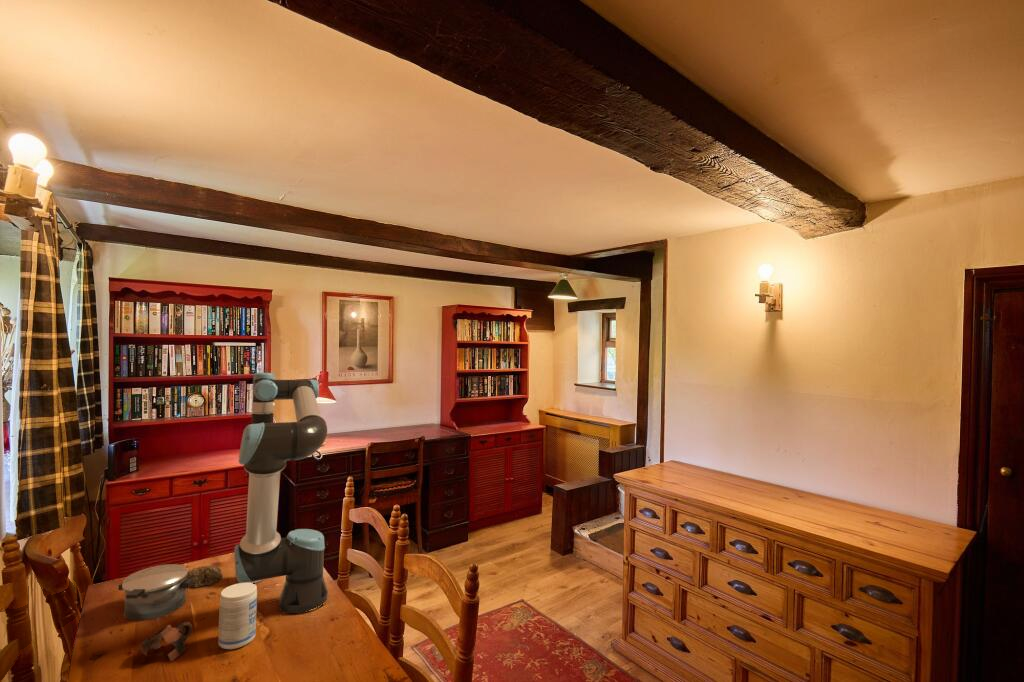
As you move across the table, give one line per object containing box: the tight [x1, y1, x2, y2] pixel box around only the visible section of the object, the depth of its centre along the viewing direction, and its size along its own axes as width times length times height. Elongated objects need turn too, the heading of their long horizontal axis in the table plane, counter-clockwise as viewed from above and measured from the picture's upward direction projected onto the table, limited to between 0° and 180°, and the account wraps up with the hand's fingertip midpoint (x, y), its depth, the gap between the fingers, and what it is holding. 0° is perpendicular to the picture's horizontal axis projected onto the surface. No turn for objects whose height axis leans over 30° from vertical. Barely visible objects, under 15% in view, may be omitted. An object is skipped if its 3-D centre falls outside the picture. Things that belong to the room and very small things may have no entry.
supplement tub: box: [217, 582, 258, 650], centre depth 139 cm, size 10×10×15 cm
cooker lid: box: [121, 563, 189, 599], centre depth 154 cm, size 20×17×1 cm
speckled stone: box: [186, 565, 224, 589], centre depth 175 cm, size 13×12×5 cm
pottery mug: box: [140, 621, 193, 662], centre depth 134 cm, size 12×10×8 cm
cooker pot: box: [117, 578, 194, 622], centre depth 156 cm, size 17×21×9 cm
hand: (260, 473), depth 185 cm, fingers closed
